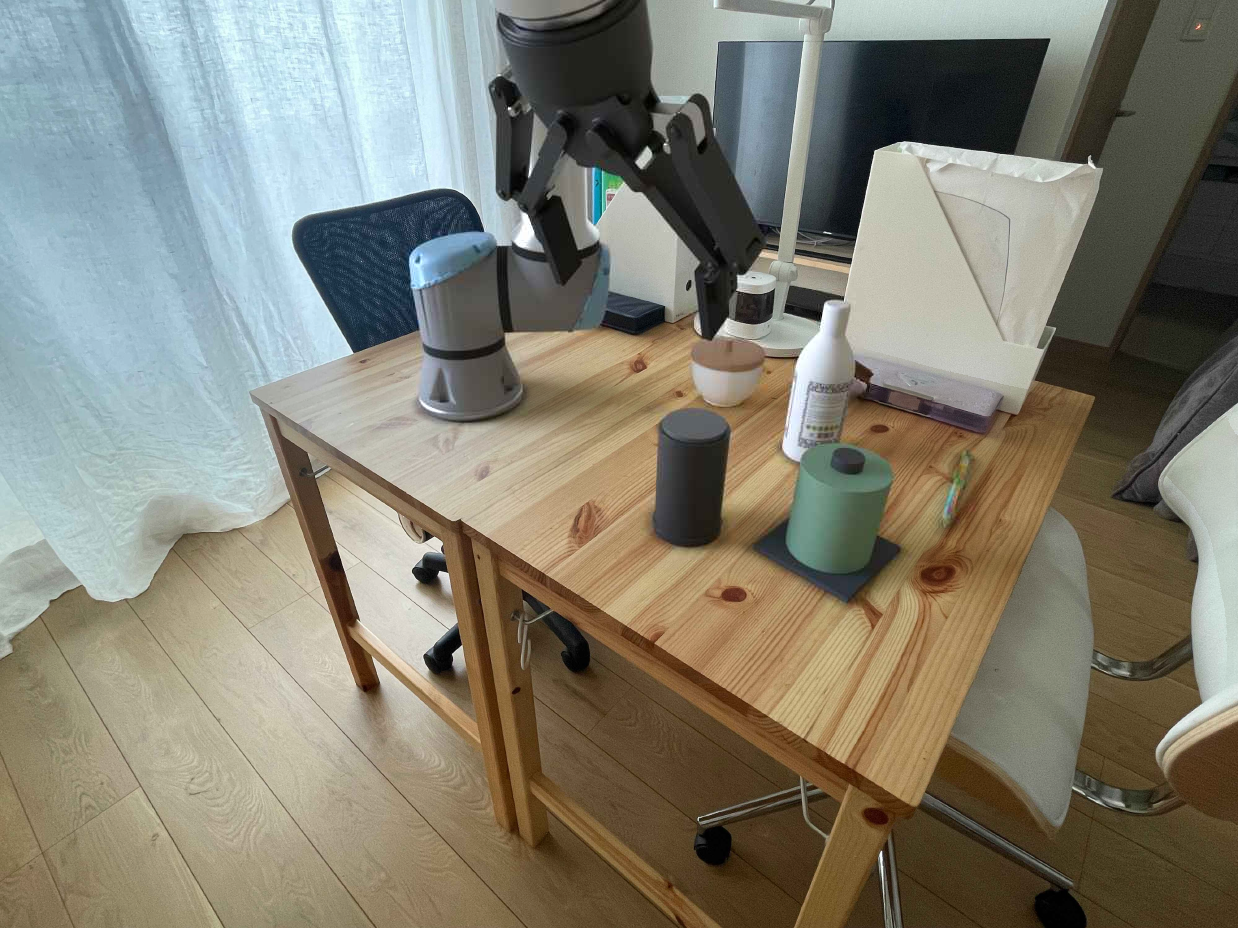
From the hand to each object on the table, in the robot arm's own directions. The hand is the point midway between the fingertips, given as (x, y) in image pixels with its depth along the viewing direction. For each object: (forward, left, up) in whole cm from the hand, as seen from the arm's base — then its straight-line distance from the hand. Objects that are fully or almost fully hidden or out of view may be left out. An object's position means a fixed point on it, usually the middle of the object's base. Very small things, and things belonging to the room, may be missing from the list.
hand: (638, 299), depth 49 cm
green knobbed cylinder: (+6, +20, -27) cm, 34 cm away
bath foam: (-11, +30, -28) cm, 43 cm away
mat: (+5, +20, -28) cm, 35 cm away
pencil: (+3, +41, -28) cm, 50 cm away
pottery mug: (-22, +43, -28) cm, 56 cm away
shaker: (-4, +8, -28) cm, 29 cm away
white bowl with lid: (-29, +28, -28) cm, 49 cm away
